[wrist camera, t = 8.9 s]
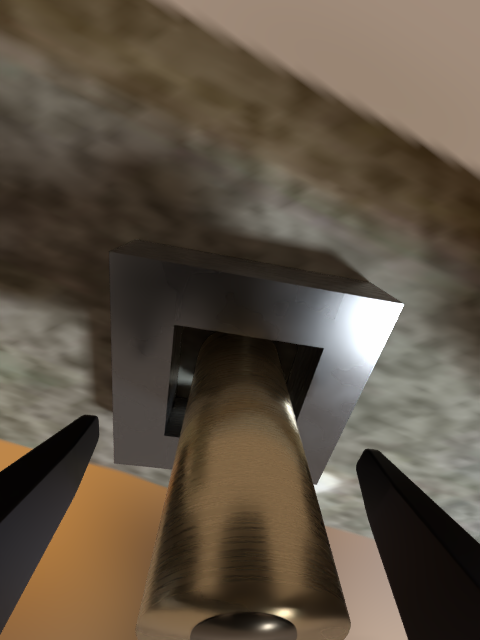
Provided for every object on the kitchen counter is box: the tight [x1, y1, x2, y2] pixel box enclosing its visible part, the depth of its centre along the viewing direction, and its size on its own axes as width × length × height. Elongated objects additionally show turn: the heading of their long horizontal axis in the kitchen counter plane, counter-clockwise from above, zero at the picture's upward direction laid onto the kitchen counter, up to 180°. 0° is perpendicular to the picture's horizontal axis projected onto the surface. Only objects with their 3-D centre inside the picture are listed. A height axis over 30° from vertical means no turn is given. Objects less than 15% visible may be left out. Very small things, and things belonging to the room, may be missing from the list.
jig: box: [109, 240, 404, 485], centre depth 12 cm, size 10×10×2 cm
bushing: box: [136, 331, 351, 640], centre depth 9 cm, size 4×4×9 cm
